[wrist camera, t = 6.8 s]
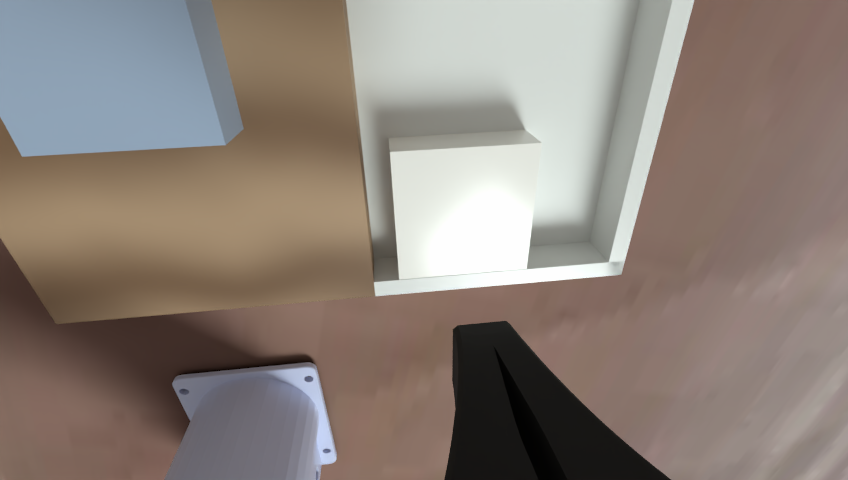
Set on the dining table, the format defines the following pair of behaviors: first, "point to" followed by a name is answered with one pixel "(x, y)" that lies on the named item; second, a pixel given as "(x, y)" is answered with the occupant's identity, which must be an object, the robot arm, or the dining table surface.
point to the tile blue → (114, 76)
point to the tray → (521, 113)
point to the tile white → (463, 201)
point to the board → (211, 190)
